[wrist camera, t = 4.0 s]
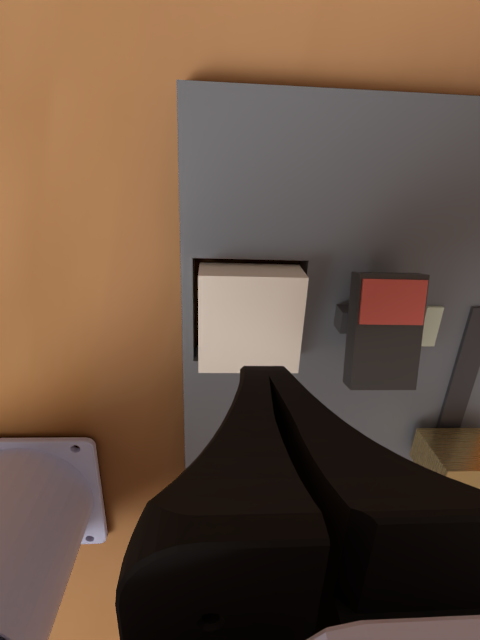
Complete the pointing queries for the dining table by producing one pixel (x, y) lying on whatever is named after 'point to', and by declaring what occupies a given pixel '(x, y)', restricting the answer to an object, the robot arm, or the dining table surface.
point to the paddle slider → (449, 452)
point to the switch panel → (337, 234)
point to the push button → (250, 316)
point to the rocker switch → (384, 330)
